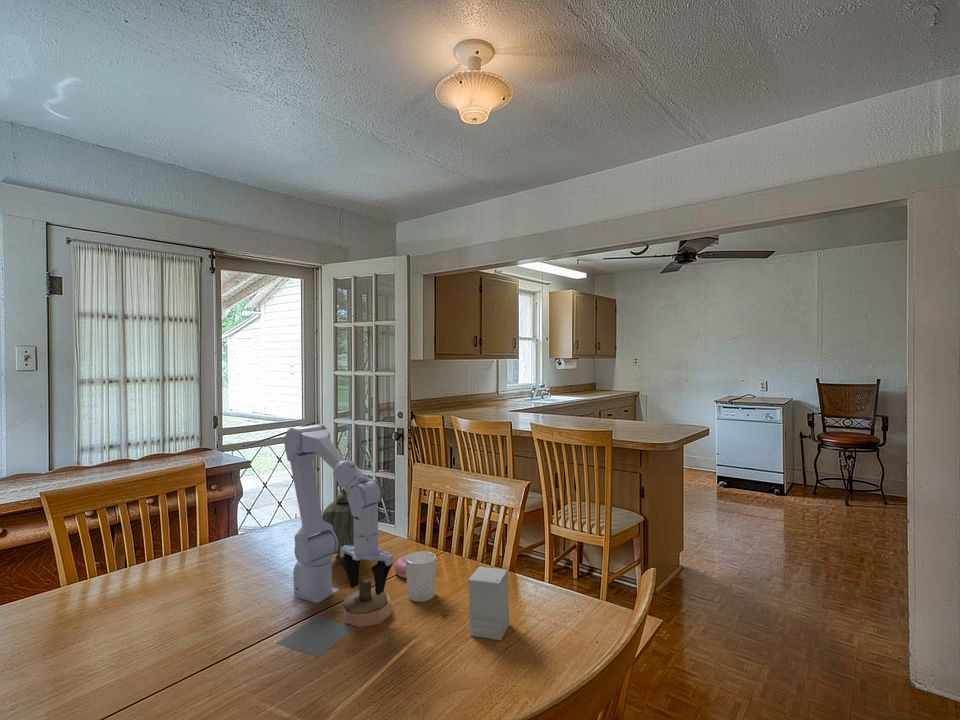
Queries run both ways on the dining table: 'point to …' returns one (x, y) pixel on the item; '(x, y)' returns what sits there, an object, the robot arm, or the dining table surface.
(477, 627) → the supplement box
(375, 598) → the lid
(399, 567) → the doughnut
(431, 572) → the white cup
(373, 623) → the bowl
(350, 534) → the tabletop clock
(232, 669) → the dining table surface
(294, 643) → the mat
